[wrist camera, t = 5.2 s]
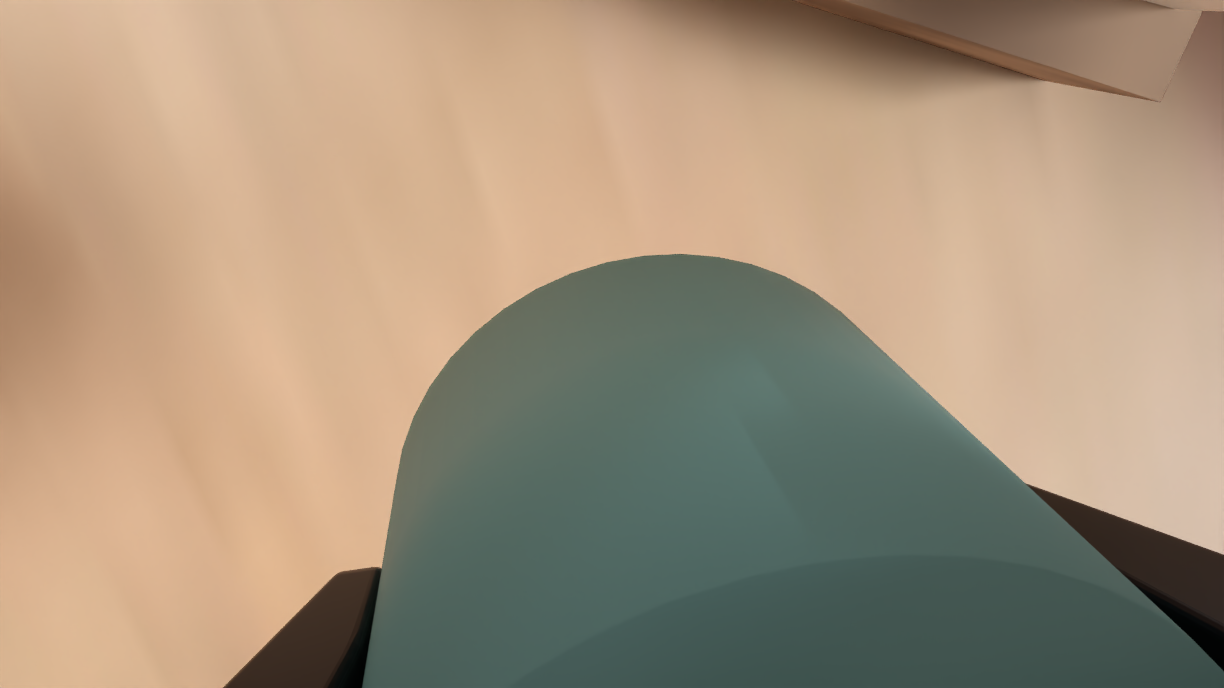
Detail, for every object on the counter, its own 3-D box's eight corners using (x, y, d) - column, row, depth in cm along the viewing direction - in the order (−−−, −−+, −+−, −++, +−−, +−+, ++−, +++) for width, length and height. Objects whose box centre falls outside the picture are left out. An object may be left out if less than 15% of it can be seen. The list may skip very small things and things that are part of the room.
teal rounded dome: (921, 224, 9) (1373, 478, 4) (898, 669, 11) (1193, 1157, 7) (349, 289, 9) (199, 653, 4) (438, 744, 11) (405, 1330, 6)
